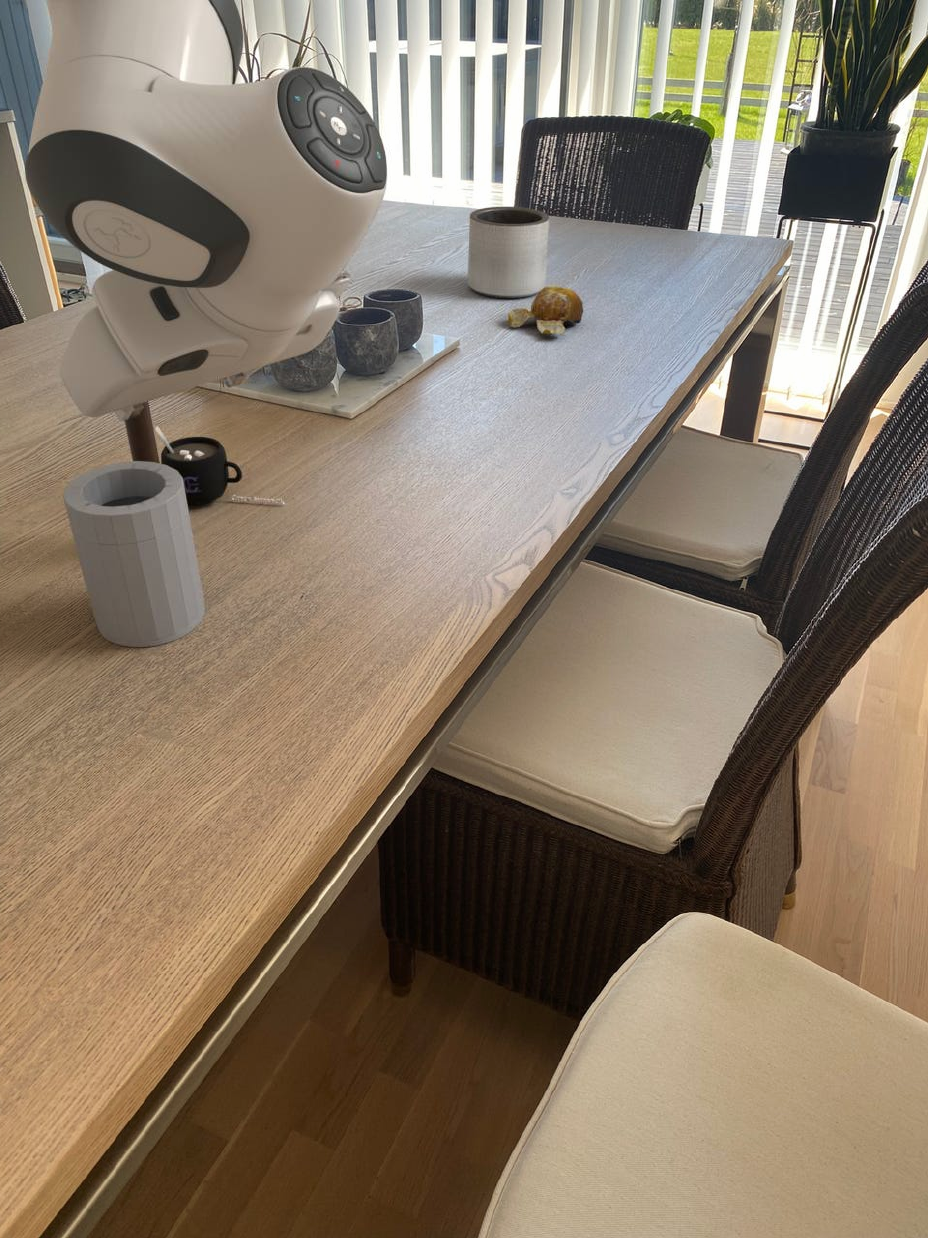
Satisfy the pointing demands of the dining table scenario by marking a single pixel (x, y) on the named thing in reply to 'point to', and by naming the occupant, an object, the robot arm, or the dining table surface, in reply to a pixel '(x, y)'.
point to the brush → (142, 437)
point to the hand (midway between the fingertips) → (179, 393)
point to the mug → (202, 468)
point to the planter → (507, 251)
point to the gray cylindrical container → (136, 552)
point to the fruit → (550, 310)
